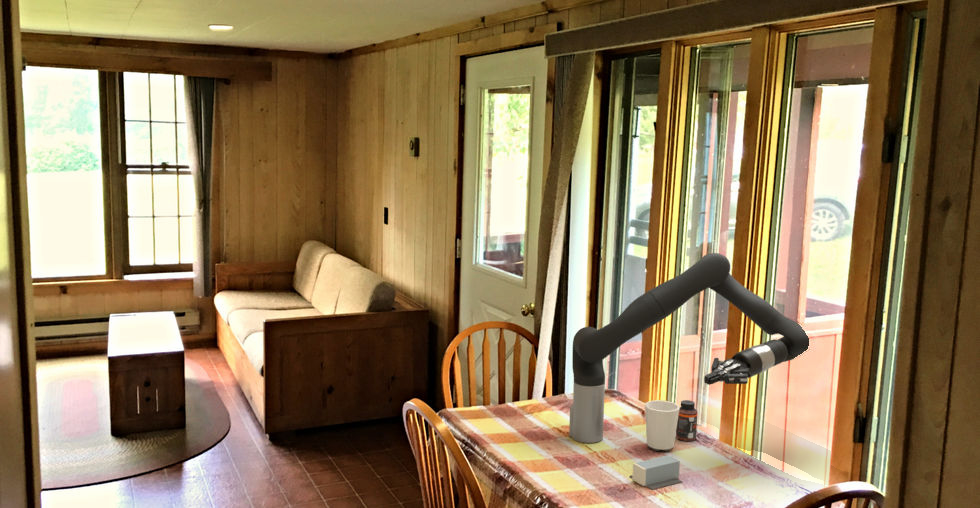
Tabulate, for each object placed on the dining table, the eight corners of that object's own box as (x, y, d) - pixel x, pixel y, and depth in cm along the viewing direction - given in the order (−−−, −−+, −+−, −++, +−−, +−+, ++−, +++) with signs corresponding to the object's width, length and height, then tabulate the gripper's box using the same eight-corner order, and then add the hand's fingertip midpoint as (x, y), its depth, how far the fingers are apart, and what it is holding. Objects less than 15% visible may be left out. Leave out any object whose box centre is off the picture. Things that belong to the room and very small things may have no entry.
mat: (629, 476, 216) (629, 475, 216) (658, 469, 221) (658, 468, 221) (652, 489, 208) (652, 488, 208) (681, 482, 213) (681, 481, 213)
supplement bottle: (696, 442, 241) (698, 406, 239) (675, 441, 242) (677, 404, 240) (695, 435, 247) (697, 399, 245) (675, 433, 248) (677, 398, 246)
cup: (657, 456, 230) (659, 413, 228) (635, 444, 239) (637, 402, 237) (684, 450, 235) (687, 408, 233) (662, 439, 243) (664, 398, 241)
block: (667, 471, 219) (632, 479, 213) (668, 455, 219) (633, 463, 213) (678, 477, 215) (643, 486, 210) (679, 461, 215) (644, 469, 209)
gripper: (736, 340, 232) (689, 359, 225) (772, 358, 221) (723, 378, 214) (736, 363, 235) (689, 382, 228) (771, 382, 224) (723, 403, 217)
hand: (706, 380), depth 221 cm, fingers closed
